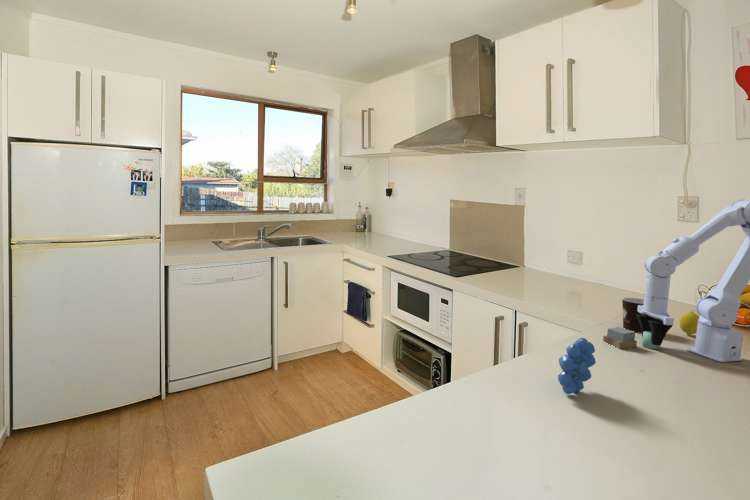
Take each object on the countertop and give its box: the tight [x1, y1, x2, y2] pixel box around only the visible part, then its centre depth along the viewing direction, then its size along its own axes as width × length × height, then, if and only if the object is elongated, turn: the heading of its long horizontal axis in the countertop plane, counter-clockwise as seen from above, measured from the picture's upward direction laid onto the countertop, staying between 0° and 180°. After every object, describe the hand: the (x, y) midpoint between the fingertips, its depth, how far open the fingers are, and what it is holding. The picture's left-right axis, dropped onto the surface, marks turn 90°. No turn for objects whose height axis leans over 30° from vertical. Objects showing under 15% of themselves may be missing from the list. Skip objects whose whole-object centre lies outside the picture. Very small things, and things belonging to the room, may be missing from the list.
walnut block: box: [602, 335, 638, 349], centre depth 119 cm, size 6×6×2 cm
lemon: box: [678, 311, 700, 336], centre depth 130 cm, size 6×6×8 cm
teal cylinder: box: [641, 331, 661, 350], centre depth 118 cm, size 4×4×4 cm
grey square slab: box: [606, 326, 636, 342], centre depth 119 cm, size 5×5×2 cm
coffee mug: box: [621, 297, 644, 334], centre depth 135 cm, size 12×9×10 cm
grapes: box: [557, 337, 596, 395], centre depth 88 cm, size 12×7×12 cm, turn 123°
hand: (651, 341), depth 118 cm, fingers closed on teal cylinder, 4 cm apart
